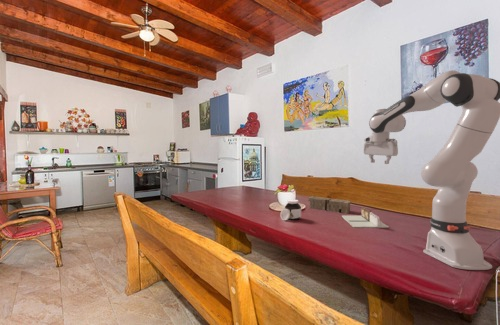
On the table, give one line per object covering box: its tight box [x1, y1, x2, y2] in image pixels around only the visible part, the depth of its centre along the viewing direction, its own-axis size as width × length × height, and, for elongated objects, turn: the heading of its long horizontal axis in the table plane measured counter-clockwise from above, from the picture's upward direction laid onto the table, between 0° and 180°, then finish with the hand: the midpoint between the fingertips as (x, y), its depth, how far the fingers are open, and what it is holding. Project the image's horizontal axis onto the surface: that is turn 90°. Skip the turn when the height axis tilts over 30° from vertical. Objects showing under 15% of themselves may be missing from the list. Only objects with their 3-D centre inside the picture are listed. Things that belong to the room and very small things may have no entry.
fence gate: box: [370, 211, 381, 227], centre depth 149 cm, size 11×1×5 cm, turn 176°
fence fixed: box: [360, 206, 372, 221], centre depth 161 cm, size 13×2×7 cm, turn 176°
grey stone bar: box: [307, 195, 351, 215], centre depth 188 cm, size 8×8×29 cm
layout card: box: [341, 215, 390, 229], centre depth 157 cm, size 24×19×1 cm
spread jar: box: [279, 199, 302, 221], centre depth 165 cm, size 12×11×12 cm
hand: (379, 163), depth 149 cm, fingers open, 8 cm apart
